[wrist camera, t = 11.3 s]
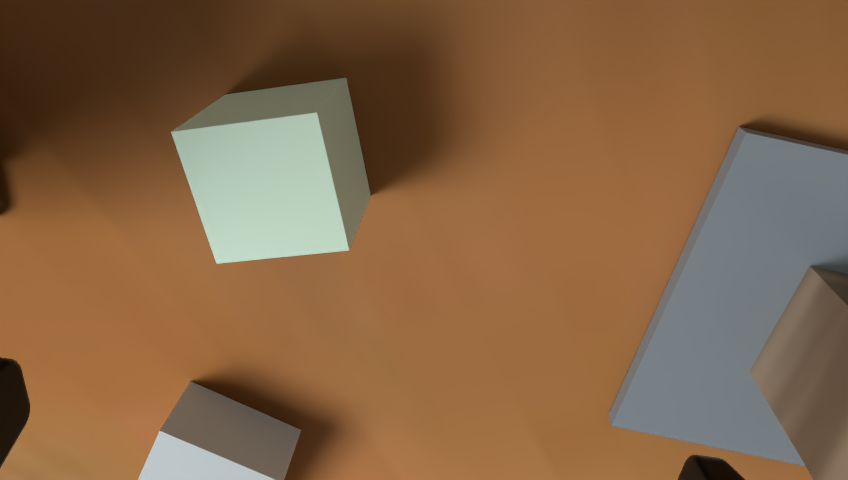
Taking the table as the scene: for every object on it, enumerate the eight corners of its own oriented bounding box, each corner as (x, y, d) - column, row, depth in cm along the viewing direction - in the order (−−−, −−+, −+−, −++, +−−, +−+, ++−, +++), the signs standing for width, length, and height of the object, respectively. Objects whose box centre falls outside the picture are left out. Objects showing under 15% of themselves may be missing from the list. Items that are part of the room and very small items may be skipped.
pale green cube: (259, 207, 22) (216, 263, 18) (226, 93, 20) (171, 132, 16) (371, 194, 21) (349, 250, 18) (346, 76, 19) (317, 112, 16)
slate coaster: (608, 414, 25) (611, 425, 24) (738, 126, 19) (745, 132, 18) (900, 475, 25) (909, 487, 24) (1113, 208, 19) (1131, 217, 19)
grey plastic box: (158, 452, 28) (125, 508, 25) (192, 377, 26) (159, 430, 23) (261, 494, 29) (239, 553, 26) (302, 426, 26) (283, 482, 24)
